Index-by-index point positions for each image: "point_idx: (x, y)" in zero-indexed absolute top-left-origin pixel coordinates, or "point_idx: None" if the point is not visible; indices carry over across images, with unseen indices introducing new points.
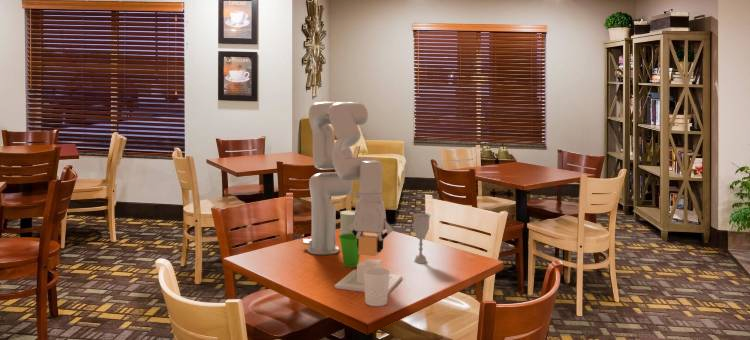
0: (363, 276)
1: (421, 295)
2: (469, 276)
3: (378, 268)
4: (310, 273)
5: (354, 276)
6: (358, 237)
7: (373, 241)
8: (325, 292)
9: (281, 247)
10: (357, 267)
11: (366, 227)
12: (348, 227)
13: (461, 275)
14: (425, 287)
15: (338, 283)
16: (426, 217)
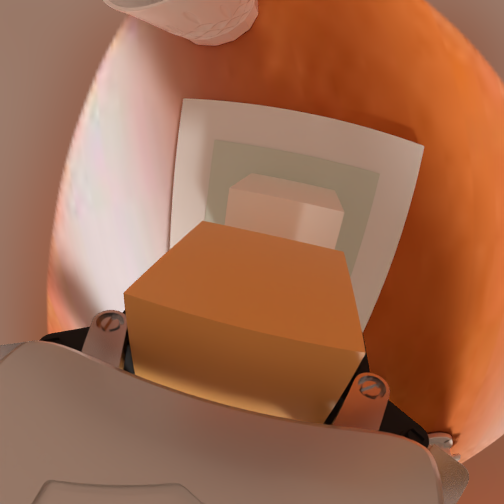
0: (302, 188)
1: (87, 134)
2: (48, 311)
3: (155, 4)
4: (490, 305)
5: (352, 265)
6: (360, 385)
7: (169, 280)
8: (441, 92)
9: (488, 439)
10: (339, 207)
11: (211, 469)
12: (465, 470)
13: (60, 319)
14: (90, 213)
15: (412, 169)
16: None
